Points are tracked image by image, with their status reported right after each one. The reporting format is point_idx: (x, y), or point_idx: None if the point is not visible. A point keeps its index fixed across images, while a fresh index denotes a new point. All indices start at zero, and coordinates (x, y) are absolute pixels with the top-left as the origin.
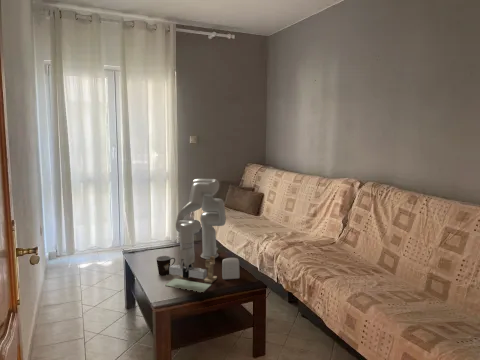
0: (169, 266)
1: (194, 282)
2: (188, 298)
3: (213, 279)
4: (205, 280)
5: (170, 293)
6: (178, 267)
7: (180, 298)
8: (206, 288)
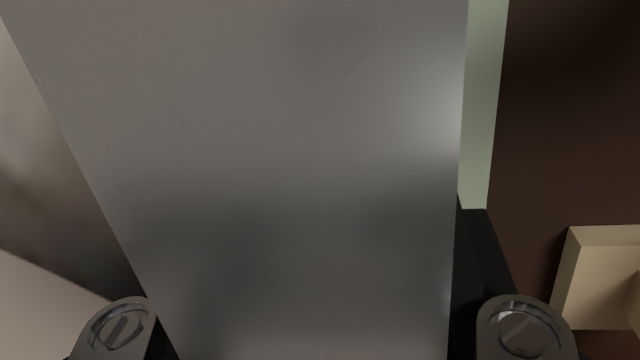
0: None
1: (464, 161)
2: (108, 279)
3: (616, 326)
4: (572, 258)
5: (14, 48)
6: (132, 70)
7: (48, 224)
8: None
